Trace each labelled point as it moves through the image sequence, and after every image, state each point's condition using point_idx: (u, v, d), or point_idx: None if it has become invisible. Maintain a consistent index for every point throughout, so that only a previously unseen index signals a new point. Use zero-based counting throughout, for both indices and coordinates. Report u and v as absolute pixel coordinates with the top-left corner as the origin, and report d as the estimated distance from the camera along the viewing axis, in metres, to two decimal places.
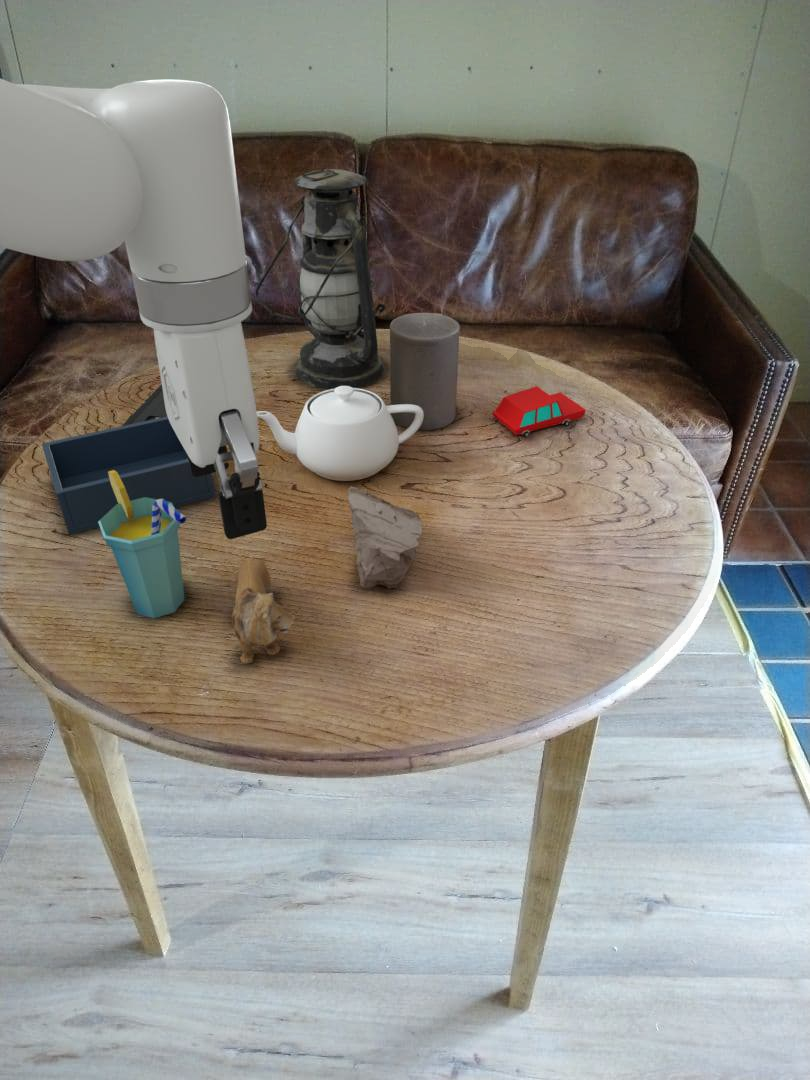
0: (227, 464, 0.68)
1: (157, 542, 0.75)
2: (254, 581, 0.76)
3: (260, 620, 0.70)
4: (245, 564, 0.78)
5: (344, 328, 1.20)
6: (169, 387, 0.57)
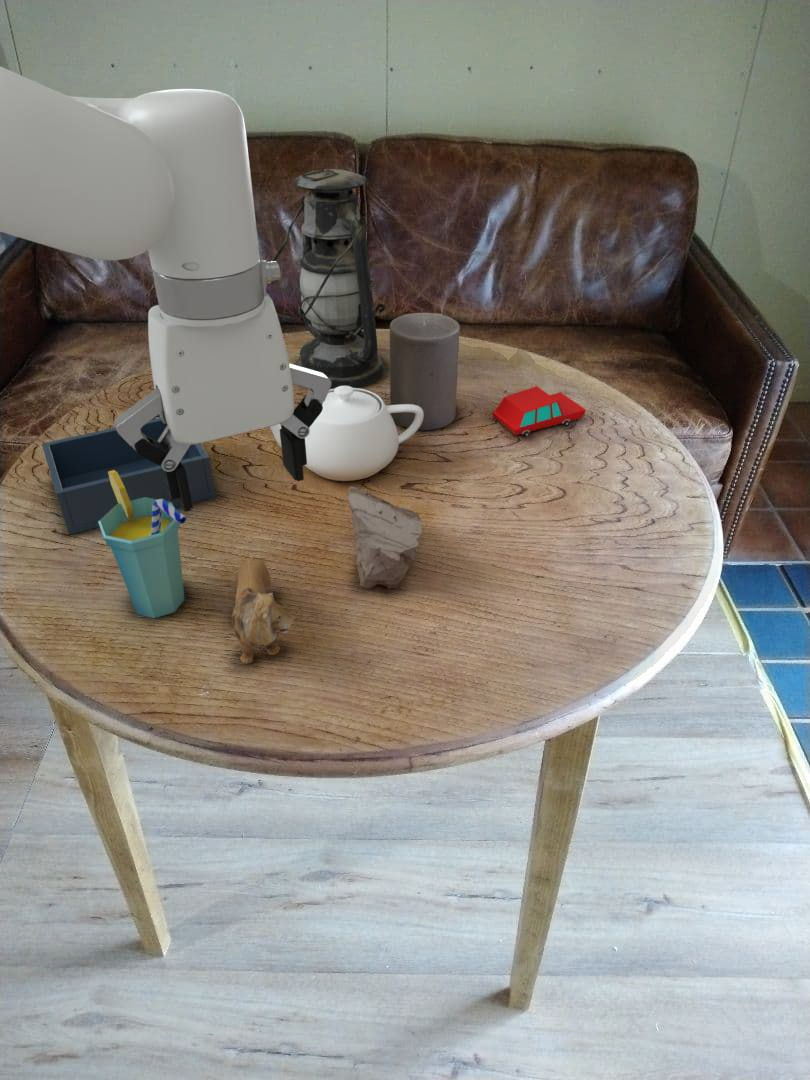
0: (296, 476, 0.68)
1: (157, 542, 0.75)
2: (254, 581, 0.76)
3: (259, 620, 0.70)
4: (245, 564, 0.78)
5: (344, 328, 1.20)
6: None
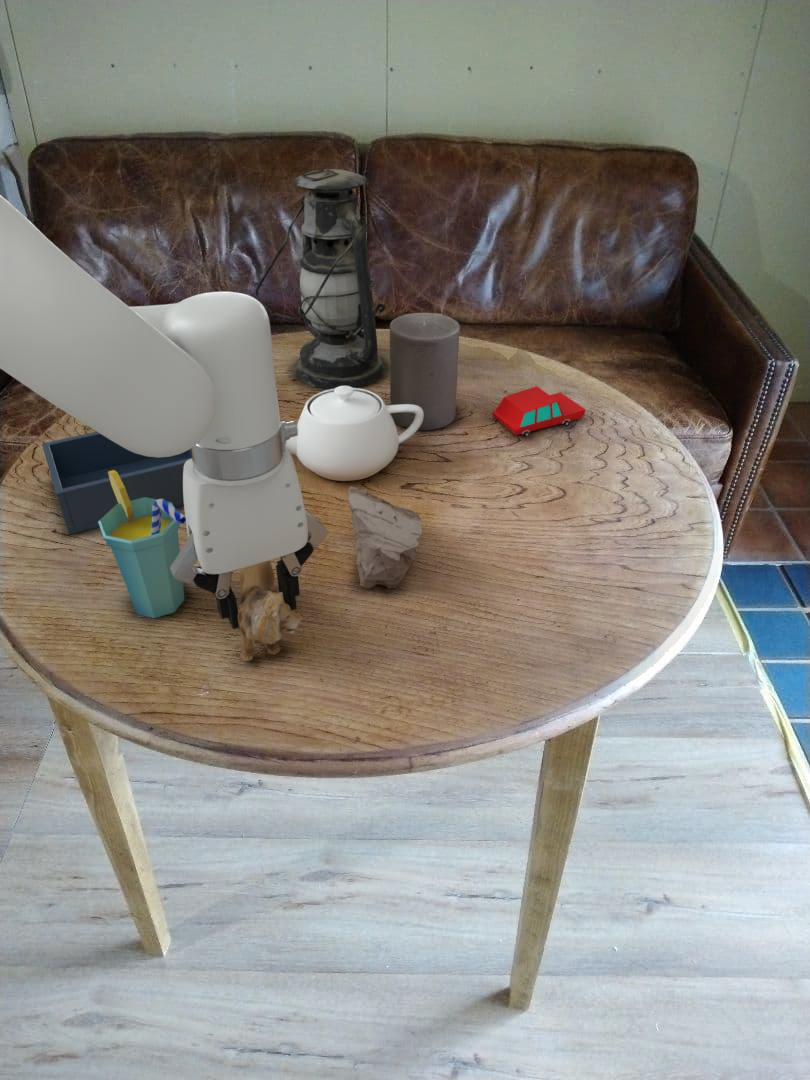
0: None
1: (157, 542, 0.75)
2: (261, 579, 0.76)
3: (269, 618, 0.70)
4: None
5: (344, 328, 1.20)
6: None
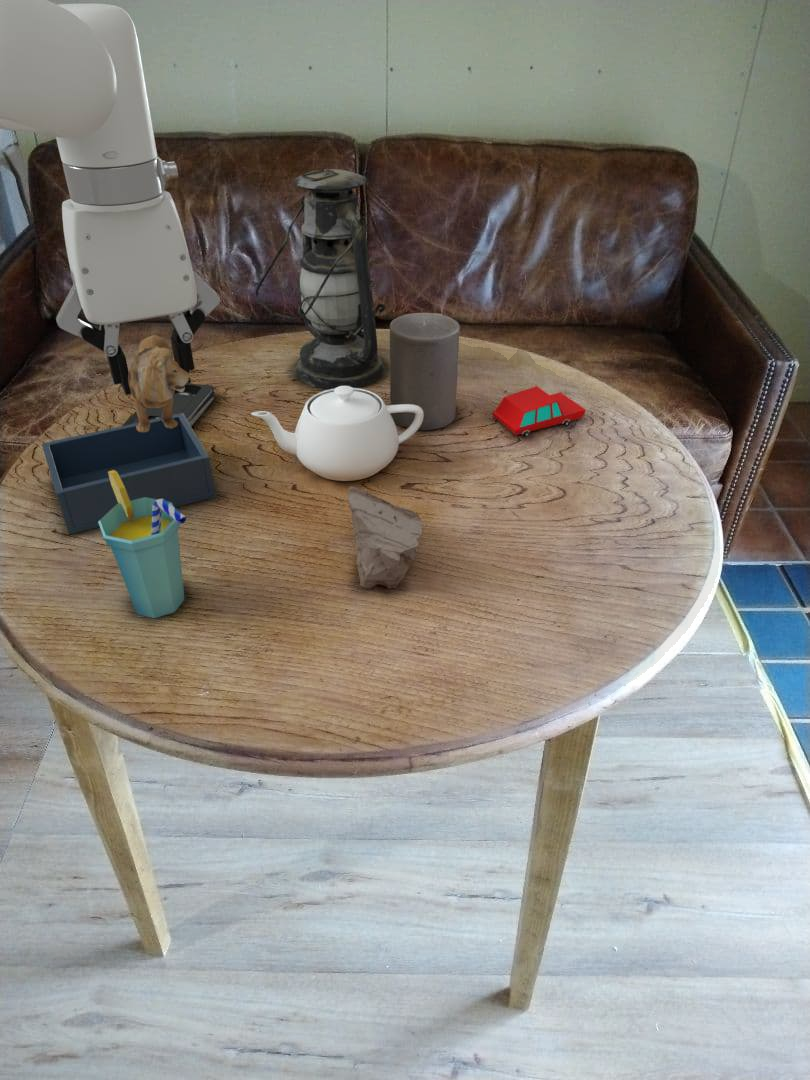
0: None
1: (157, 542, 0.75)
2: None
3: (154, 368, 0.70)
4: (148, 337, 0.78)
5: (344, 328, 1.20)
6: None
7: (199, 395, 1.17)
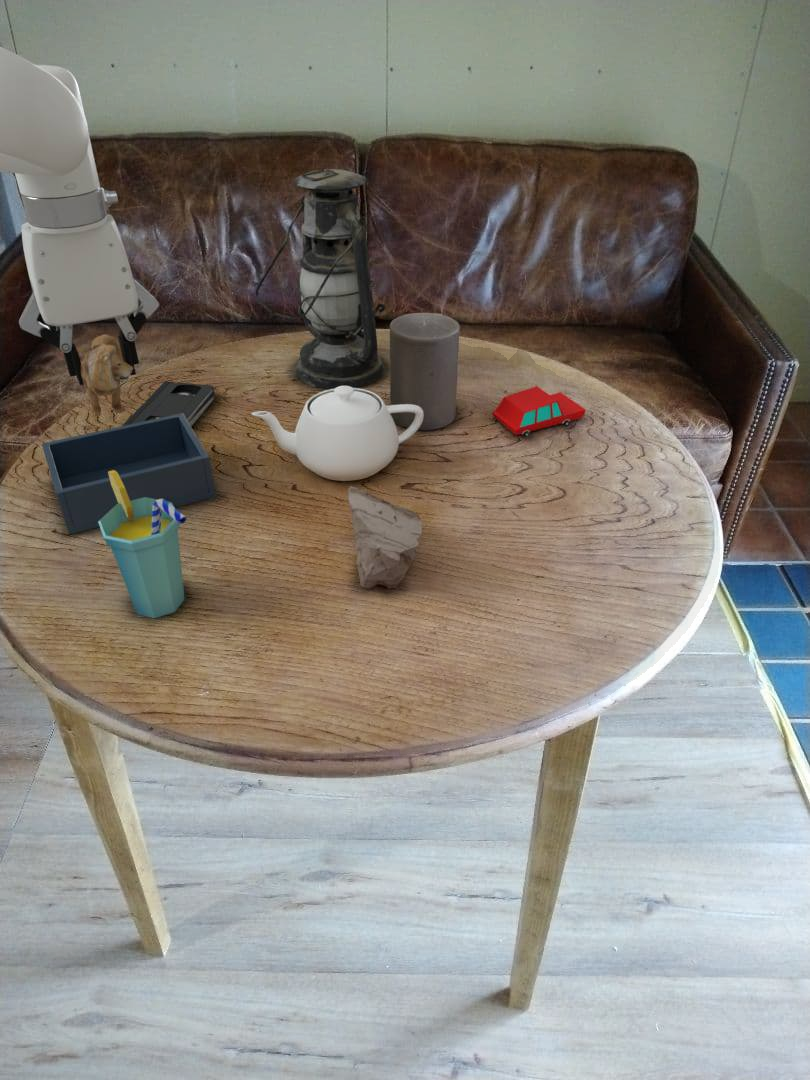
0: None
1: (157, 542, 0.75)
2: None
3: (101, 362, 0.84)
4: (99, 336, 0.92)
5: (344, 328, 1.20)
6: None
7: (199, 395, 1.17)
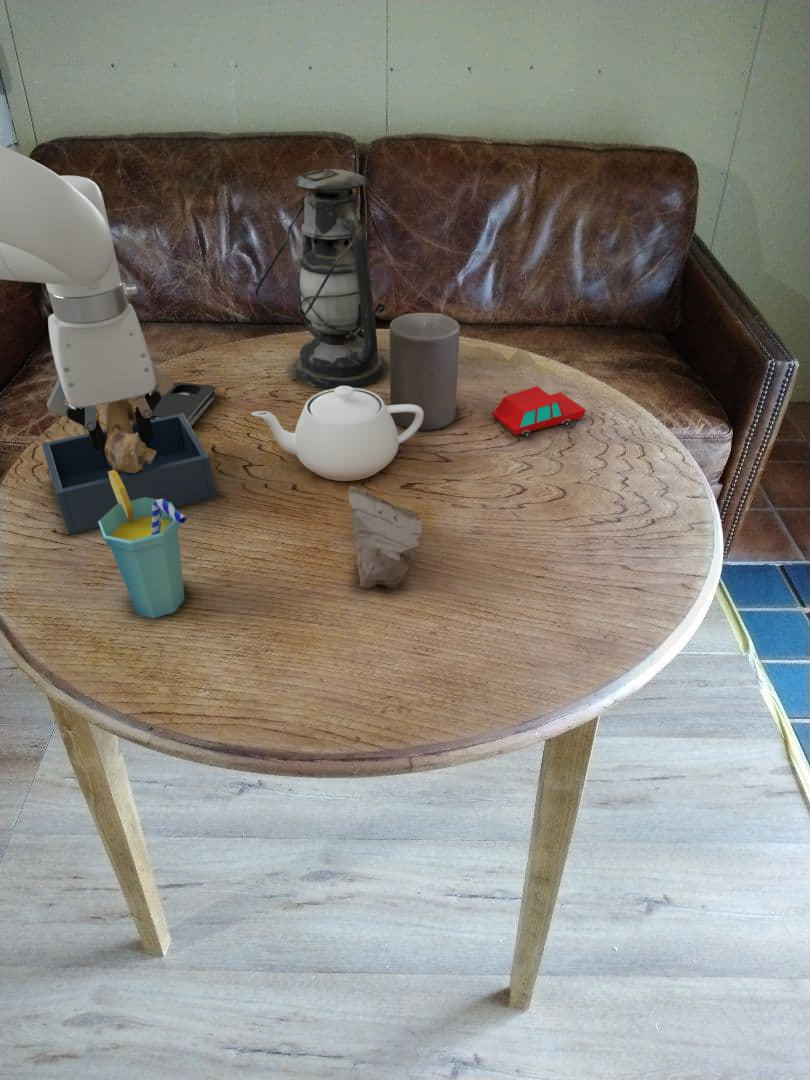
0: None
1: (157, 542, 0.75)
2: (121, 418, 0.94)
3: (128, 456, 0.89)
4: (113, 402, 0.95)
5: (344, 328, 1.20)
6: None
7: (199, 395, 1.17)
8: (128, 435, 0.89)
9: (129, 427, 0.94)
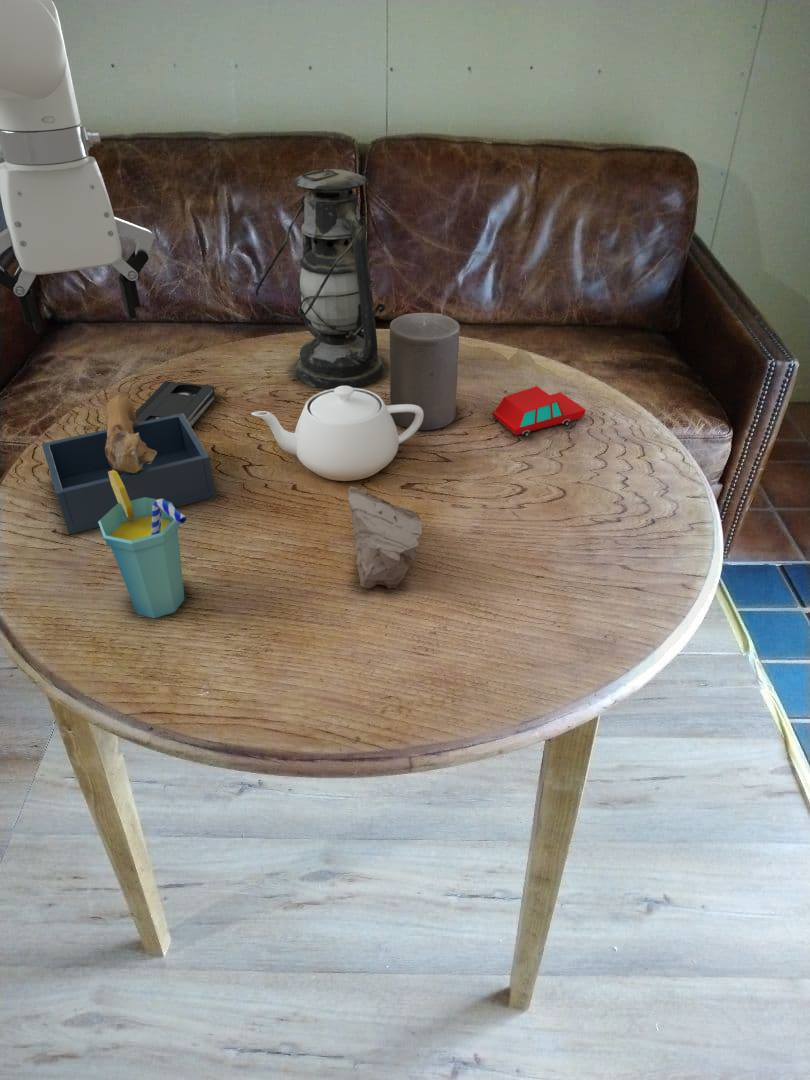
0: (130, 314, 0.86)
1: (157, 542, 0.75)
2: (122, 418, 0.94)
3: (129, 455, 0.89)
4: (114, 401, 0.95)
5: (344, 328, 1.20)
6: None
7: (200, 395, 1.17)
8: (129, 435, 0.89)
9: (130, 427, 0.94)
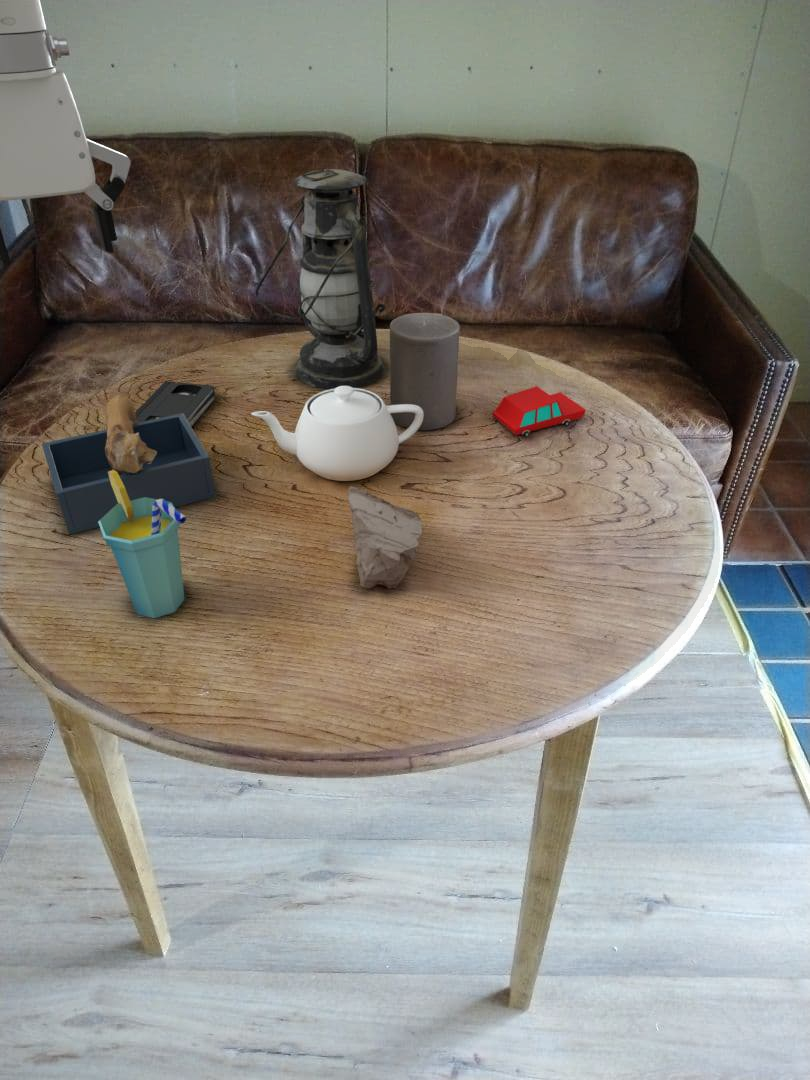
0: (106, 247, 0.80)
1: (157, 542, 0.75)
2: (122, 418, 0.94)
3: (129, 455, 0.89)
4: (114, 401, 0.95)
5: (344, 328, 1.20)
6: None
7: (200, 395, 1.17)
8: (129, 435, 0.89)
9: (130, 427, 0.94)
